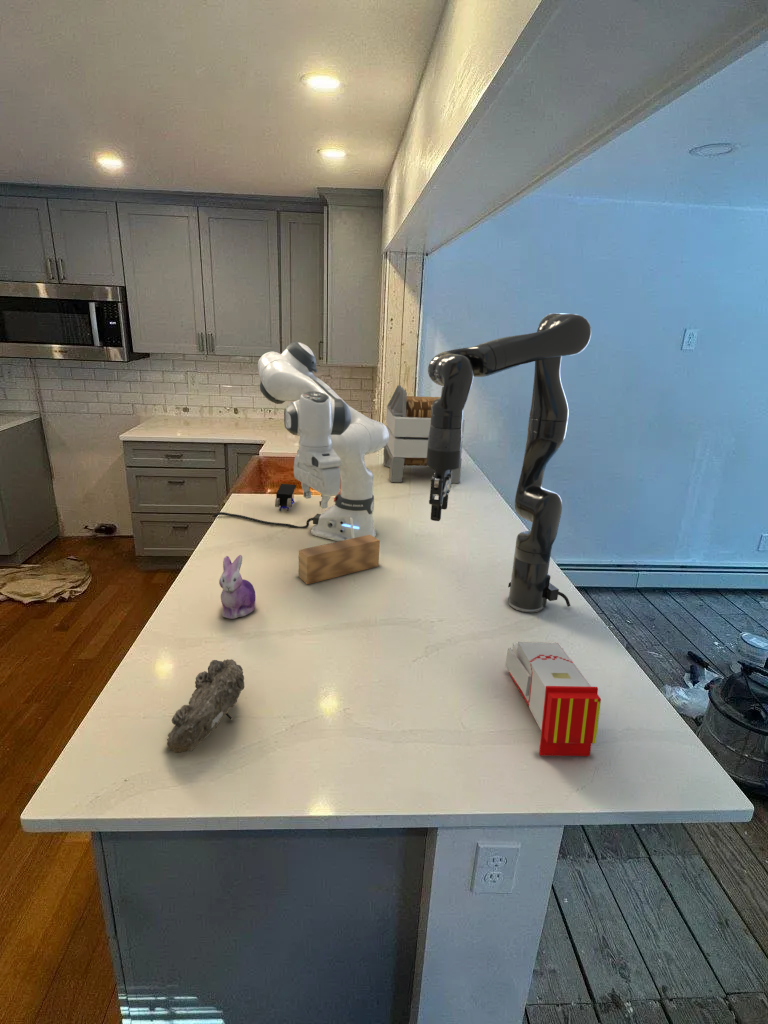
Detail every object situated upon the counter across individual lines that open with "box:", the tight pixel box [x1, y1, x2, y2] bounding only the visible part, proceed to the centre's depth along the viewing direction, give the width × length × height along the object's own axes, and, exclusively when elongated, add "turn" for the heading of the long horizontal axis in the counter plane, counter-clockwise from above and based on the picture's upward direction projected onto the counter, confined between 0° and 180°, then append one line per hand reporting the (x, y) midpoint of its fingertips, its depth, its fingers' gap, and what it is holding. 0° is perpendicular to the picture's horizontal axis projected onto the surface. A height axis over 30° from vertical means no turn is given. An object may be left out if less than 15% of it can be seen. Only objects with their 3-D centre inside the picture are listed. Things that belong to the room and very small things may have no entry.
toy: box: [505, 641, 602, 757], centre depth 113 cm, size 12×13×30 cm
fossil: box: [166, 658, 245, 754], centre depth 106 cm, size 22×10×15 cm
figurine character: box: [274, 483, 297, 512], centre depth 220 cm, size 7×8×15 cm
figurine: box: [218, 554, 256, 619], centre depth 143 cm, size 9×10×15 cm
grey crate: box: [383, 384, 465, 484], centre depth 268 cm, size 34×33×41 cm
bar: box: [298, 535, 381, 585], centre depth 168 cm, size 24×5×9 cm, turn 125°
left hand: (315, 502), depth 157 cm, fingers open, 8 cm apart
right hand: (439, 514), depth 132 cm, fingers open, 8 cm apart
